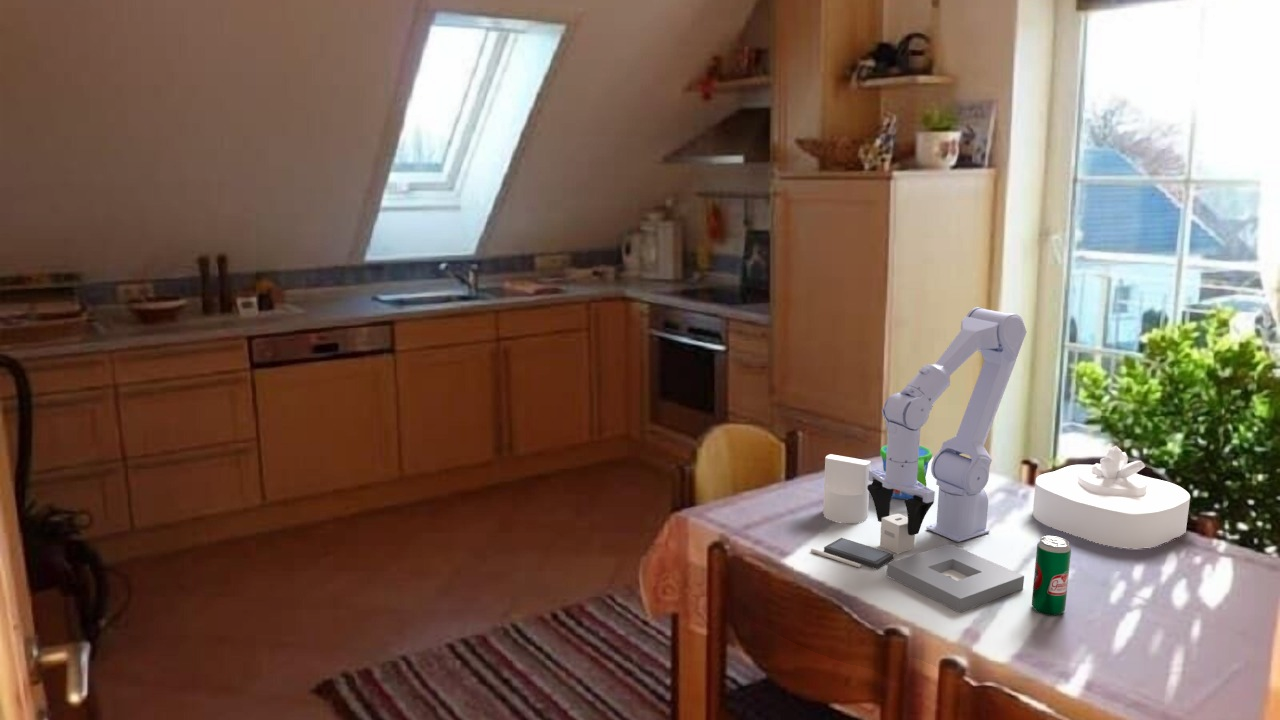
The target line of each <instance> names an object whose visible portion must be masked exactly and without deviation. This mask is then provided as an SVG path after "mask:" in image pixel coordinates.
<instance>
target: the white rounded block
mask: <svg viewBox="0 0 1280 720" xmlns="http://www.w3.org/2000/svg"><path fill="white" fill-rule="evenodd" d="M871 462H872V461H871V460H868V459H867V460H866V459H860V458H855V457H851V456H850V457H849V456H844V455H837V454H833V453H829V454H827V455H826V456H825V459H824V464H825V465H824V482H823V505H822V507H823V508H822V515H823V514H824V516H825V517H827V518H828V519H830V520H829V521H831V520H832V521H831V522H834V521H837V522H836V523H838V522H841V523H840V524H846V523H854V524H859V522H860V523H863V522H865V521H867V520H866V519H868V518H869V517H868V516H869V501H870V500H869V495H870V493H869V491H868V489H867V487H868V485H870V482H871V481H869V480H868V478H869V471H870V470H871ZM824 516H823V517H824ZM825 517H824V518H825ZM827 518H826V519H827ZM828 519H827V520H828ZM862 521H863V522H862Z"/></svg>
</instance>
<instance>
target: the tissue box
mask: <svg viewBox="0 0 1280 720" xmlns="http://www.w3.org/2000/svg"><path fill="white" fill-rule="evenodd" d="M1099 461H1100V463H1097V462H1096V463H1095V464H1072V465H1068V466H1065V467H1062V468H1059V469H1057V470H1055V471H1051V472H1050V471H1049V472H1046V473H1043V474H1040V475H1038V476H1037V477H1036V478H1035V484H1034V485H1035V486H1034V496H1033V508H1032V516H1033V518H1034V519H1035V520H1036V521H1038V522H1039V523H1041V524H1043V525H1045V526H1046V527H1049V528H1051V527H1052V529H1054V530H1058V531H1060V532H1062V531H1063V532H1062V533H1065V532H1066V534H1068V533H1069V534H1068V535H1071V534H1072V535H1071V536H1075V537H1077V536H1078V537H1077V538H1079V537H1081V538H1080V539H1082V538H1084V539H1083V540H1085V539H1087V540H1086V541H1088V540H1089V541H1088V542H1091V541H1093V542H1092V543H1094V542H1095V543H1094V544H1097V543H1099V544H1098V545H1101V544H1103V545H1102V546H1105V545H1108V546H1107V547H1109V546H1114V547H1113V548H1115V546H1116V547H1127V548H1144V547H1152V546H1156V545H1159V544H1161V543H1163V542H1165V541H1168V540H1170V539H1172V538H1174V537H1176V536H1178V535H1180V534H1182V533H1185V534H1186V533H1187V532H1186V531H1187V526H1188V525H1187V523H1188V518H1189V516H1188V515H1189V511H1190V510H1189V508H1190V501H1191V495H1190V493H1189V492H1188V491H1187V490H1186V489H1184V488H1183V487H1181V486H1180V485H1177V484H1175V483H1174V482H1173V483H1172V482H1170V481H1166V480H1163V479H1162V480H1161V479H1158V478H1153V477H1149V476H1145V475H1142V474H1138V472H1140V471H1141V470H1143V469H1144V468H1145V467H1146V464H1145V463H1144V462H1143V461H1142V460H1135V461H1132V462H1129V463H1128V461H1129V456H1128V455H1127V453H1126V451H1122V450H1121V449H1120V448H1119V447H1118V445H1115V446H1111V448H1109V449H1108V451H1107V454H1106V456H1105V457H1103V458H1100V460H1099Z"/></svg>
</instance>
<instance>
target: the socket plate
mask: <svg viewBox="0 0 1280 720" xmlns="http://www.w3.org/2000/svg"><path fill="white" fill-rule="evenodd" d="M886 564H887V565H886V577H888V578H890V579H891V580H894V581H896V582H898V583H900V584H902V585H904V586H906V587H908V588H910V589H912V590H914V591H916V592H918V593H920V594H922V595H923V596H925V597H928V598H930V599H932V600H934V601H936V602H938V603H940V604H942V605H944V606H946V607H948V608H950V609H952V610H954V611H956V612H958V613H962V612H964V611H968V610H969V609H972V608H975V607H978V606H980V605H983V604H986V603H989V602H991V601H994V600H996V599H1000V598H1002V597H1005V596H1007V595H1010V594H1013V593H1015V592H1019V591H1022V590H1023V589H1024V583H1025V582H1024V581H1025V575H1023V574H1021V573H1018V572H1016V571H1014V570H1011V569H1009V568H1006V567H1004V566H1002V565H1000V564H998V563H995V562H993V561H990V560H989V559H986V558H984V557H981V556H979V555H977V554H974V553H973V552H970V551H968V550H965V549H962V548H960V547H958V546H956V545H954V544H951V543H948V544H944V545H942V546H941V545H940V546H938V547H935V548H931V549H929V550H926V551H922V552H918V553H916V554H913V555H910V556H909V555H908V556H906V557H903V558H899V559H896V560H894V561H893V560H892V561H889V562H888V563H886ZM1018 590H1019V591H1018Z"/></svg>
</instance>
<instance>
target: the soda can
mask: <svg viewBox="0 0 1280 720" xmlns="http://www.w3.org/2000/svg"><path fill="white" fill-rule="evenodd" d="M1035 555H1036V556H1035V564H1034V565H1035V566H1034V573H1033V574H1034V575H1033V585H1032V586H1033V587H1032V595H1031V606H1032V607H1033V609H1034V610H1035V611H1037V612H1038V613H1040V614H1041V615H1046V616H1058V615H1062V613H1064V612H1065V610H1066V605H1067V593H1068V584H1069V575H1070V574H1069V573H1070V566H1071V565H1070V564H1071V555H1072V549H1071V547H1070V542H1069V540H1067V539H1066V538H1063V537H1059V536H1054V535H1046V536H1045V535H1044V536H1042V537H1040V538H1039V542H1037V545H1036V553H1035Z"/></svg>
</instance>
